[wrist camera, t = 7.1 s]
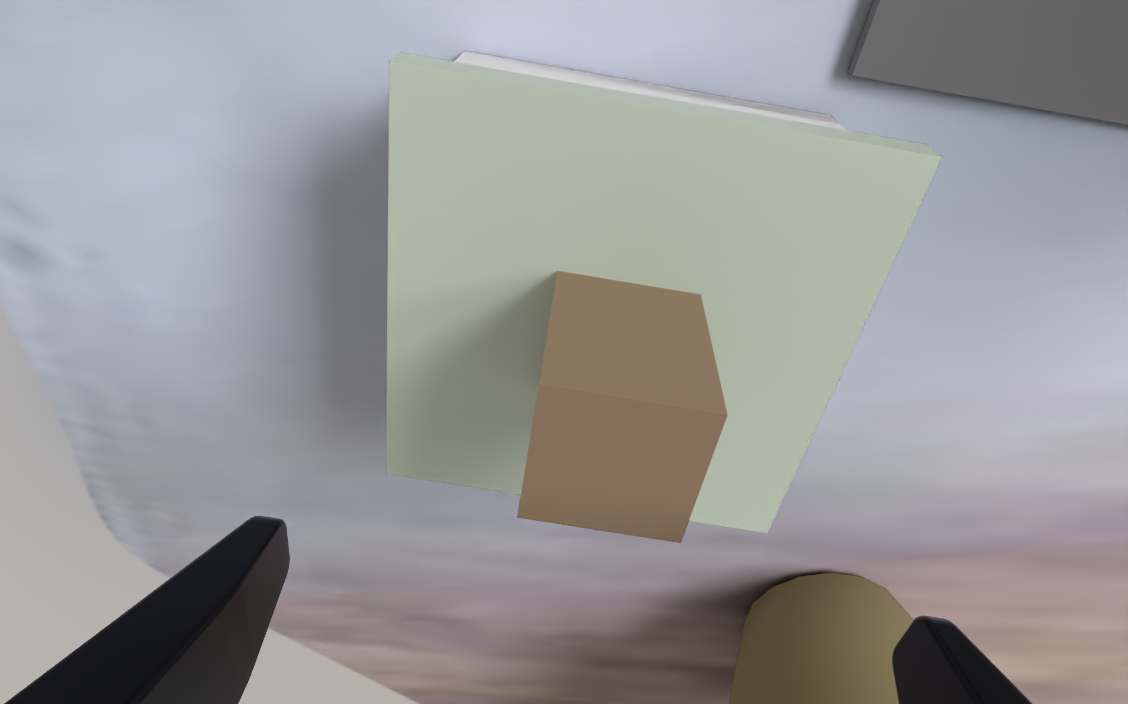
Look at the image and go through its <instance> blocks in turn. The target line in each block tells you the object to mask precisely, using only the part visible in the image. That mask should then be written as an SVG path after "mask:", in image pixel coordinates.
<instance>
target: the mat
mask: <svg viewBox="0 0 1128 704" xmlns="http://www.w3.org/2000/svg"><path fill="white" fill-rule="evenodd" d="M848 73H849V74H850V75H852V76H856V77H862V78H867V79H873V80H879V81H884V82H890V83H895V84H901V85H907V86H912V87H918V88H923V89H929V90H935V91H940V92H946V93H951V94H957V95H963V96H968V97H974V98H979V99H985V100H991V101H996V102H1002V103H1008V104H1013V105H1019V106H1024V107H1030V108H1036V109H1041V110H1047V111H1052V112H1058V113H1064V114H1069V115H1075V116H1080V117H1086V118H1092V119H1097V120H1103V121H1108V122H1114V123H1120V124H1125V125H1128V0H873V3H872V6H871V8H870V11H869V14H868V17H867V19H866V22H865V25H864V28H863V31H862V33H861V36H860V39H859V42H858V44H857V47H856V50H855V53H854V55H853V58H852V61H851V64H850V66H849V69H848Z"/></svg>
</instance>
